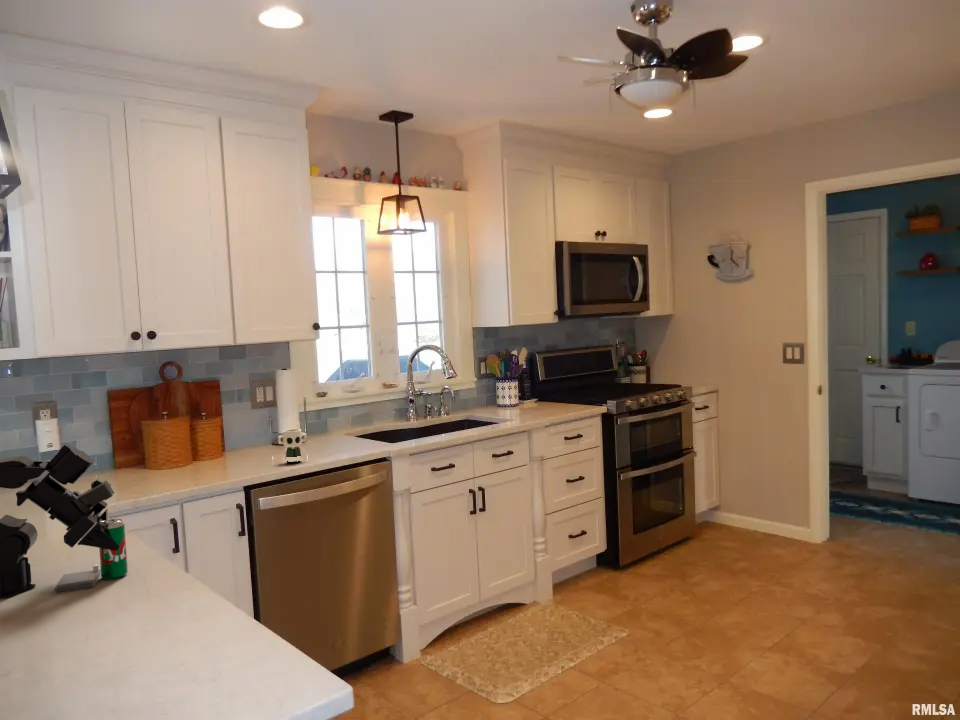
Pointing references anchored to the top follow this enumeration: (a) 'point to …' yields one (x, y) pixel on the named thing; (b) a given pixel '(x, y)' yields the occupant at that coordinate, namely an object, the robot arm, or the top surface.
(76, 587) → the dark grey rod
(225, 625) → the top surface
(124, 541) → the soda can
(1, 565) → the robot arm
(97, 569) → the switch plate
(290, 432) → the character mug
